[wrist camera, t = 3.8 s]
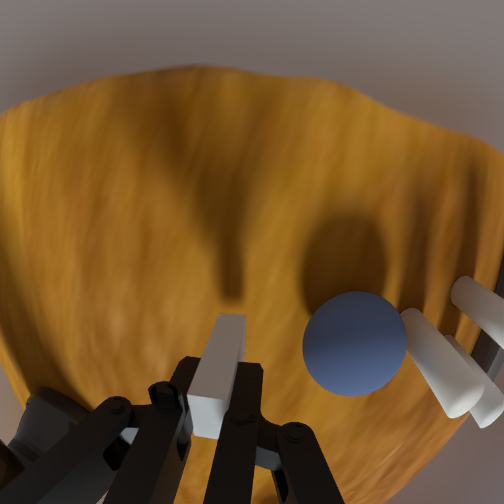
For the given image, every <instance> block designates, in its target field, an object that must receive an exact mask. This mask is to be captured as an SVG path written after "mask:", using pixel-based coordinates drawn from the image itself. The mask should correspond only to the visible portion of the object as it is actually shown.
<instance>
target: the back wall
mask: <svg viewBox="0 0 504 504" xmlns="http://www.w3.org/2000/svg"><path fill="white" fill-rule="evenodd" d="M495 294H497V295H498V296H500V297H501V298H503V299H504V257H503V261H502V266H501V270H500V274H499V278H498V282H497V286H496V289H495ZM471 357H472V358H473V359H474V360H475V362H476V363H477V364H478V365H479V366H480V367H481V369H482V370H483V371H484V372H485V373H486V374H487V376H488V377H489V378H490V379H491V380H492V382H493V381H494V379H495V378H496V376H497V374H498V372H499V370H500V368H501V366H502V364H503V362H504V349H503V348H502V347H501V346H500V345H499V344H498V343H497V342H496V341H495V340H494V339H493V338H491V337H490V336H489V335H488V334H487V333H486V332H485V331H484V330H483V329H482V331H481V334H480V336H479V339H478V341H477V343H476V346H475V348H474V350H473V353H472V355H471Z"/></svg>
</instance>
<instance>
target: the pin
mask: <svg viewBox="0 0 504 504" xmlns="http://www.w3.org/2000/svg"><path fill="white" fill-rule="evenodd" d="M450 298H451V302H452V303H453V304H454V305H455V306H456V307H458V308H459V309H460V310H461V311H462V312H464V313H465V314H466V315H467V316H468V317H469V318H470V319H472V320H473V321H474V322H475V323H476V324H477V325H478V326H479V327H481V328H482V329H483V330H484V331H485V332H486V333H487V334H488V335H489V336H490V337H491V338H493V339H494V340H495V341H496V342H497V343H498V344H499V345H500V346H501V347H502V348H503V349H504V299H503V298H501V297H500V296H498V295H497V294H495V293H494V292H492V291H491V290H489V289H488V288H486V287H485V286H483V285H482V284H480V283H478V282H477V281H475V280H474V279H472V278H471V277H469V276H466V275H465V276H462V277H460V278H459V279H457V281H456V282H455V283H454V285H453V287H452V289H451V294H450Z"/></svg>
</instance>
